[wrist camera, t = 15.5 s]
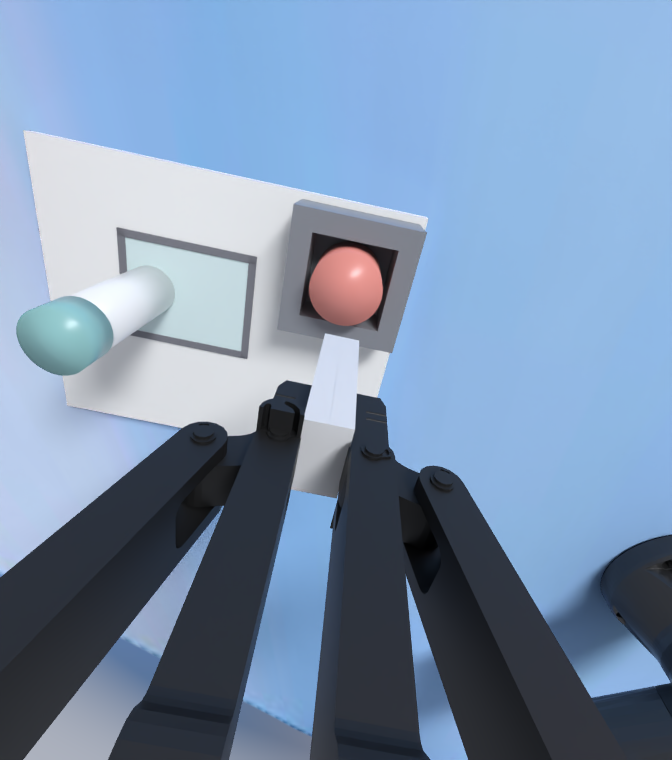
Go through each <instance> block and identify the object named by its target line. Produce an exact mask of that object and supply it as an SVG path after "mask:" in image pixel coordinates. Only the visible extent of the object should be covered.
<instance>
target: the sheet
mask: <svg viewBox="0 0 672 760" xmlns="http://www.w3.org/2000/svg"><path fill="white" fill-rule="evenodd" d="M23 131H24V130H23ZM24 138H25V144H26V150H27V156H28V163H29V169H30V175H31V181H32V188H33V194H34V200H35V206H36V213H37V219H38V225H39V232H40V238H41V244H42V250H43V257H44V263H45V269H46V275H47V282H48V288H49V294H50V300H51V301H53V300H55V299H58V298H60V297H63V296H70V295H72V294H74V293H77V292H79V291H81V290H84V289H86V288H89V287H91V286H93V285H96V284H98V283H101V282H103V281H105V280H108V279H110V278H113V277H115V276H117V275H120V274H122V273H125V272H127V271H129V270H132V269H134V268H137V267H139V266H143V265H149V266H154V267H156V268H158V269H160V270H162V271H163V272H164V273H165V274H166V275H167V276H168V277H169V278H170V280H171V281H172V283H173V286H174V290H175V298H174V302H173V304H172V305H171V307H170V308H168V309H167V310H166V311H164V312H163V313H161V314H160V315H158V316H157V317H155V318H154V319H153V320H151V321H150V322H148V323H147V324H145V325H144V326H142V327H141V328H140V329H138V330H137V331H135V332H134V333H132V334H131V335H129V336H128V337H127V338H125V339H124V340H122V341H121V342H119V343H118V344H116V345H115V346H114V347H112V348H111V349H110V350H109V351H108V352H107V353H106V354H105V355H103V356H102V357H101V358H99V359H98V360H96V361H95V362H93V363H92V364H91V365H89V366H88V367H86V368H85V369H83V370H82V371H81V372H79V373H77V374H74V375H69V376H63V382H64V388H65V394H66V400H67V406H72V407H77V408H82V409H88V410H93V411H98V412H103V413H108V414H113V415H118V416H123V417H128V418H134V419H139V420H144V421H149V422H154V423H159V424H164V425H169V426H174V427H179V428H183V427H185V426H187V425H189V424H191V423H195V422H212V423H216V424H218V425H220V426H222V427H224V429H225V430H226V431H227V434H228V436H240V435H247V434H251V433H253V432H255V431H256V428H257V420H258V411H259V406H260V405H261V403H262V402H264V401H266V400H268V399H273V398H274V395H275V393H276V390H277V388H278V386H279V385H280V384H282V383H283V382H285V381H286V380H288V381H293V382H298V383H303V384H308V385H312V383H313V379H314V375H315V371H316V367H317V363H318V359H319V355H320V352H321V348H322V344H323V340H324V339H320V338H316V337H311V336H306V335H301V334H296V333H291V332H287V331H282V330H277V327H278V319H279V311H280V304H281V296H282V288H283V281H284V273H285V265H286V258H287V250H288V242H289V235H290V227H291V219H292V212H293V204H294V203H296V202H298V201H299V200H301V199H305V200H310V201H314V202H319V203H324V204H328V205H333V206H337V207H342V208H347V209H351V210H356V211H360V212H365V213H369V214H374V215H379V216H383V217H388V218H392V219H397V220H402V221H406V222H411V223H415V224H420V225H421V226H422V228H423V229H424V230H425V229H426V225H427V222H428V218H427V217H424V216H420V215H415V214H410V213H406V212H401V211H397V210H392V209H388V208H383V207H378V206H374V205H369V204H365V203H360V202H356V201H351V200H346V199H342V198H337V197H333V196H328V195H324V194H319V193H314V192H310V191H305V190H301V189H296V188H292V187H287V186H282V185H278V184H273V183H269V182H264V181H260V180H255V179H250V178H246V177H241V176H237V175H232V174H227V173H223V172H218V171H214V170H209V169H205V168H200V167H195V166H191V165H186V164H182V163H177V162H173V161H168V160H163V159H159V158H154V157H150V156H145V155H141V154H136V153H131V152H127V151H122V150H118V149H113V148H109V147H104V146H99V145H95V144H90V143H86V142H81V141H77V140H72V139H67V138H63V137H58V136H54V135H49V134H45V133H40V132H35V131H24ZM389 354H390V353H388V352H384V351H379V350H374V349H369V348H364V347H359V358H358V378H357V394H362V395H366V396H371V397H376V398H377V396H378V393H379V389H380V386H381V382H382V379H383V375H384V372H385V368H386V365H387V361H388V358H389Z"/></svg>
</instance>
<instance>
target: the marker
mask: <svg viewBox="0 0 672 760" xmlns="http://www.w3.org/2000/svg"><path fill="white" fill-rule="evenodd" d="M174 298H175V290H174V286H173V283H172V281H171V280H170V278H169V277H168V276H167V275H166V274H165V273H164V272H163V271H162V270H160V269H158V268H156V267H154V266H149V265H143V266H139V267H137V268H134V269H132V270H129V271H127V272H125V273H122V274H120V275H117V276H115V277H113V278H110V279H108V280H105V281H103V282H101V283H98V284H96V285H93V286H91V287H89V288H86V289H84V290H81V291H79V292H77V293H74V294H72V295H70V296H63V297H60V298H58V299H55V300H53V301H50V302H48V303H46V304H43V305H41V306H38V307H36V308H33V309H31V310H29V311H27V312H25V313H24V314H23V315H22V316H21V317H20V319H19V320H18V323H17V328H16V333H17V338H18V341H19V344H20V346H21V348H22V350H23V351H24V353H25V354H26V355H27V356H28V358H29V359H30V360H31V361H32V362H34V363H35V364H36V365H37V366H39V367H40V368H42V369H44V370H46V371H48V372H50V373H53V374H57V375H63V376H69V375H74V374H77V373H79V372H81V371H82V370H83V369H85V368H86V367H88V366H89V365H91V364H92V363H93V362H95V361H96V360H98V359H99V358H101V357H102V356H103V355H105V354H106V353H107V352H108V351H109V350H110V349H111V348H112V347H114V346H115V345H116V344H118V343H119V342H121V341H122V340H124V339H125V338H127V337H128V336H129V335H131V334H132V333H134V332H135V331H137V330H138V329H140V328H141V327H142V326H144V325H145V324H147V323H148V322H150V321H151V320H153V319H154V318H155V317H157V316H158V315H160V314H161V313H163V312H164V311H166V310H167V309H168V308H170V307H171V305H172V304H173V302H174Z"/></svg>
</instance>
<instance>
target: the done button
mask: <svg viewBox="0 0 672 760" xmlns="http://www.w3.org/2000/svg"><path fill="white" fill-rule="evenodd" d="M382 294H383V286H382V278H381V270H380V265H379V262H378V260H377V258H376V256H375V255H374V253H373V252H372V251H371V250H370V249H369V248H367V247H366V246H364V245H362V244H360V243H357V242H352V241H345V242H340V243H337V244H334V245H333V246H331V247H329V248H328V249H327V250H326V251H325V252H324V253H323V254H322V256H321V257H320V259H319V261H318V263H317V266H316V268H315V270H314V272H313V274H312V276H311V279H310V283H309V295H310V299H311V302H312V305H313V307H314V308H315V310H316V311H317V312H318V314H319V315H320V316H321V317H322V318H324V319H325V320H327V321H329V322H331V323H333V324H336V325H341V326H352V325H356V324H359V323H362V322H364V321H366V320H367V319H368V318H370V317H371V316H372V315H373V314H374V313H375V312H376V310H377V308H378V307H379V305H380V302H381V299H382Z"/></svg>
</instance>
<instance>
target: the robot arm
mask: <svg viewBox="0 0 672 760" xmlns="http://www.w3.org/2000/svg"><path fill="white" fill-rule="evenodd" d="M358 358H359V340H354V339H350V338H345V337H340V336H335V335H330V334H326V333H325V336H324V340H323V344H322V348H321V352H320V355H319V359H318V363H317V367H316V371H315V375H314V379H313V383H312V385H308V384H303V383H298V382H293V381H288V380H286V381H285V382H283V383H282V384H280V385H279V386H278V388H277V390H276V393H275V395H274V398H273V399H268V400H266V401H264V402H262V403H261V405H260V406H259V411H258V420H257V428H256V431H255V432H253V433H251V434H247V435H240V436H228V434H227V431H226V430H225V429H224V427H222V426H220V425H218V424H216V423H212V422H195V423H191V424H189V425H187V426H185V427H183V428H182V429H181V430H179V431H178V432H177V433H176V434H175V435H173V436H172V437H171V438H170V439H169V440H167V441H166V442H165V443H164V444H162V445H161V446H160V447H159V448H158V449H156V450H155V451H154V452H153V453H151V454H150V455H149V456H148V457H147V458H145V459H144V460H143V461H142V462H140V463H139V464H138V465H137V466H136V467H134V468H133V469H132V470H131V471H130V472H128V473H127V474H126V475H125V476H123V477H122V478H121V479H120V480H119V481H117V482H116V483H115V484H114V485H112V486H111V487H110V488H109V489H108V490H106V491H105V492H104V493H103V494H101V495H100V496H99V497H98V498H97V499H95V500H94V501H93V502H92V503H91V504H89V505H88V506H87V507H86V508H84V509H83V510H82V511H81V512H80V513H78V514H77V515H76V516H75V517H73V518H72V519H71V520H70V521H69V522H67V523H66V524H65V525H64V526H62V527H61V528H60V529H59V530H58V531H56V532H55V533H54V534H53V535H52V536H50V537H49V538H48V539H47V540H45V541H44V542H43V543H42V544H41V545H39V546H38V547H37V548H36V549H34V550H33V551H32V552H31V553H30V554H28V555H27V556H26V557H25V558H24V559H22V560H21V561H20V562H19V563H17V564H16V565H15V566H14V567H13V568H11V569H10V570H9V571H8V572H6V573H5V574H4V575H3V576H2V577H0V760H23V759H24V758H25V757H26V755H27V754H28V753H29V751H30V750H31V749H32V748H33V746H34V745H35V744H36V743H37V741H38V740H39V739H40V737H41V736H42V735H43V734H44V733H45V731H46V730H47V729H48V727H49V726H50V725H51V724H52V722H53V721H54V720H55V719H56V717H57V716H58V715H59V714H60V712H61V711H62V710H63V708H64V707H65V706H66V705H67V703H68V702H69V701H70V700H71V698H72V697H73V696H74V695H75V693H76V692H77V691H78V689H79V688H80V687H81V686H82V684H83V683H84V682H85V681H86V679H87V678H88V677H89V676H90V674H91V673H92V672H93V670H94V669H95V668H96V667H97V665H98V664H99V663H100V662H101V660H102V659H103V658H104V657H105V655H106V654H107V653H108V651H109V650H110V649H111V647H112V646H113V645H114V644H115V643H116V641H117V640H118V639H119V638H120V636H121V635H122V634H123V633H124V631H125V630H126V629H127V628H128V626H129V625H130V624H131V622H132V621H133V620H134V619H135V617H136V616H137V615H138V614H139V612H140V611H141V610H142V609H143V607H144V606H145V605H146V603H147V602H148V601H149V600H150V598H151V597H152V596H153V595H154V593H155V592H156V591H157V590H158V588H159V587H160V586H161V585H162V583H163V582H164V581H165V579H166V578H167V577H168V576H169V574H170V573H171V572H172V571H173V569H174V568H175V567H176V566H177V564H178V563H179V562H180V560H181V559H182V558H183V557H184V555H185V554H186V553H187V552H188V550H189V549H190V548H191V547H192V545H193V544H194V543H195V542H196V540H197V539H198V538H199V536H200V535H201V534H202V533H203V531H204V530H205V529H206V528H207V526H208V525H209V524H210V523H211V521H212V520H213V519H214V517H215V516H216V515H217V514H218V512H219V511H220V509H221V507H222V506H224V508H223V511H222V513H221V516H220V518H219V520H218V523H217V525H216V528H215V530H214V532H213V535H212V537H211V540H210V542H209V544H208V547H207V549H206V552H205V554H204V556H203V559H202V561H201V564H200V566H199V568H198V571H197V573H196V576H195V578H194V580H193V583H192V585H191V588H190V590H189V592H188V595H187V597H186V600H185V602H184V604H183V607H182V609H181V612H180V614H179V616H178V619H177V621H176V624H175V626H174V629H173V631H172V633H171V636H170V638H169V641H168V643H167V645H166V648H165V650H164V653H163V655H162V657H161V660H160V662H159V665H158V667H157V670H156V672H155V674H154V677H153V679H152V681H151V684H150V686H149V689H148V691H147V693H146V695H145V696H144V698H143V700H142V701H141V702H140V703H139V704H138V705H137V706H135V707H134V708H133V710H132V711H131V713H130V715H129V717H128V718H127V719H126V721H125V723H124V726H123V728H122V730H121V732H120V734H119V737H118V738H117V740H116V743H115V745H114V747H113V750H112V752H111V754H110V757H109V759H108V760H229V756H230V752H231V748H232V744H233V739H234V735H235V731H236V726H237V722H238V718H239V713H240V709H241V704H242V701H243V696H244V692H245V688H246V683H247V679H248V675H249V670H250V666H251V662H252V657H253V653H254V649H255V644H256V640H257V636H258V631H259V627H260V623H261V618H262V614H263V610H264V606H265V601H266V597H267V593H268V588H269V584H270V580H271V575H272V571H273V567H274V562H275V558H276V554H277V549H278V545H279V541H280V536H281V532H282V528H283V524H284V519H285V515H286V511H287V506H288V502H289V497H290V491H291V489H292V490H297V491H302V492H307V493H312V494H317V495H322V496H327V497H332V498H337V495H338V500H337V504H336V508H335V511H334V515H333V519H332V523H331V526H330V528H332V529H333V533H332V542H331V552H330V562H329V572H328V582H327V592H326V602H325V612H324V622H323V632H322V642H321V652H320V662H319V672H318V682H317V692H316V702H315V712H314V722H313V732H312V742H311V753H310V760H430V759H429V757H428V756H427V755H426V754H425V752H424V751H423V749H422V745H421V741H420V734H419V723H418V712H417V701H416V689H415V678H414V667H413V655H412V644H411V632H410V621H409V610H408V598H407V587H406V576H407V579H408V582H409V585H410V588H411V591H412V594H413V597H414V600H415V603H416V606H417V609H418V612H419V615H420V618H421V621H422V624H423V627H424V630H425V633H426V636H427V639H428V642H429V645H430V648H431V651H432V653H433V656H434V659H435V662H436V665H437V668H438V671H439V674H440V677H441V680H442V683H443V686H444V689H445V692H446V695H447V698H448V701H449V704H450V707H451V710H452V713H453V716H454V719H455V722H456V725H457V728H458V731H459V734H460V737H461V739H462V742H463V745H464V748H465V751H466V754H467V757H468V760H672V536H666V537H661V538H657V539H654V540H651V541H648V542H645V543H642V544H640V545H638V546H636V547H634V548H632V549H630V550H628V551H626V552H625V553H623V554H622V555H620V556H619V557H618V558H617V559H615V560H614V561H613V562H612V563H611V564H610V565H609V567H608V568H607V569H606V571H605V572H604V574H603V577H602V580H601V592H602V595H603V597H604V598H605V600H606V602H607V604H608V606H609V608H610V609H611V611H612V613H613V614H614V615H615V617H616V618H617V619H618V620H619V621H620V622H621V623H622V624H624V625H625V626H626V627H627V628H628V630H629V631H630V632H631V633H632V634H633V635H634V636H635V637H636V638H637V639H638V640H639V642H640V643H641V644H642V645H643V646H644V647H645V648H646V649H647V650H648V651H649V652H650V653H651V654H652V655H653V656H654V657H655V658H656V659H657V660H658V662H659V663H660V665H661V667H662V668H663V670H664V672H665V673H666V675H667V677H668V678H669V680H670V682H671V683H669V684H663V685H658V686H655V687H654V686H653V687H648V688H642V689H637V690H631V691H626V692H621V693H615V694H610V695H604V696H599V697H594V698H591V697H590V695H589V693H588V692H587V690H586V688H585V687H584V685H583V683H582V682H581V680H580V678H579V677H578V675H577V673H576V672H575V670H574V668H573V667H572V665H571V663H570V662H569V660H568V658H567V656H566V655H565V653H564V651H563V650H562V648H561V646H560V645H559V643H558V641H557V640H556V638H555V636H554V635H553V633H552V631H551V630H550V628H549V626H548V625H547V623H546V621H545V619H544V618H543V616H542V614H541V613H540V611H539V609H538V608H537V606H536V604H535V603H534V601H533V599H532V598H531V596H530V594H529V593H528V591H527V589H526V588H525V586H524V584H523V582H522V581H521V579H520V577H519V576H518V574H517V572H516V571H515V569H514V567H513V566H512V564H511V562H510V561H509V559H508V557H507V556H506V554H505V552H504V551H503V549H502V547H501V546H500V544H499V542H498V540H497V539H496V537H495V535H494V534H493V532H492V530H491V529H490V527H489V525H488V524H487V522H486V520H485V519H484V517H483V515H482V514H481V512H480V510H479V509H478V507H477V505H476V503H475V502H474V500H473V498H472V497H471V495H470V493H469V492H468V490H467V488H466V487H465V485H464V483H463V482H462V481H461V479H460V478H459V477H458V476H457V475H456V474H454V473H453V472H451V471H450V470H447V469H445V468H443V467H438V466H427V467H425V468H423V469H422V470H421V471H420V473H417V472H415V471H413V470H411V469H408V468H406V467H404V466H403V465H401V464H400V463H398V462H397V461H396V460H395V455H394V453H393V451H392V450H391V449H390V447H389V444H388V430H387V417H386V406H385V405H384V403H383V402H382V401H381V399H380V398H376V397H371V396H366V395H362V394H357V378H358ZM338 491H339V493H338ZM405 573H406V576H405Z"/></svg>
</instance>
